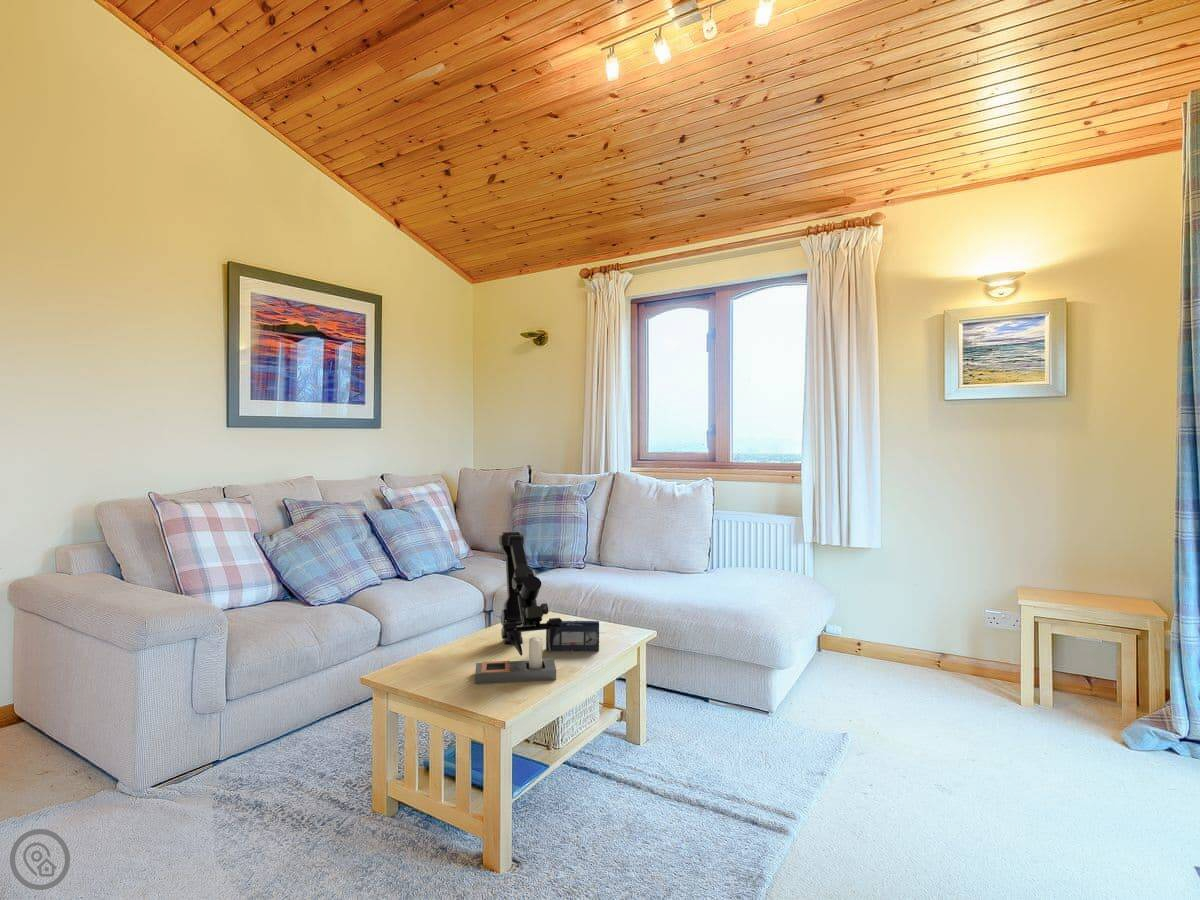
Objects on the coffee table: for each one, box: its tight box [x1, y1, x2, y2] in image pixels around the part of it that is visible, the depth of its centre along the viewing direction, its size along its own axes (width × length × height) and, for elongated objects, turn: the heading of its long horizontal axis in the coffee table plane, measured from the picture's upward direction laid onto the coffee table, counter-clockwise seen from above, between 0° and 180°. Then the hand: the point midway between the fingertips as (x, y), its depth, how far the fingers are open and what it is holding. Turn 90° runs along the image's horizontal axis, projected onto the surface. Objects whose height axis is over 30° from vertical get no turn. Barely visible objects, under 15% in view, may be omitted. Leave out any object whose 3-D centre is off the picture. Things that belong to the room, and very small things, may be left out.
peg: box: [528, 636, 543, 669], centre depth 186 cm, size 4×4×11 cm
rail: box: [474, 658, 557, 685], centre depth 186 cm, size 9×24×3 cm, turn 99°
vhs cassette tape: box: [545, 620, 600, 652], centre depth 209 cm, size 18×3×10 cm, turn 91°
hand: (536, 653), depth 185 cm, fingers open, 9 cm apart
